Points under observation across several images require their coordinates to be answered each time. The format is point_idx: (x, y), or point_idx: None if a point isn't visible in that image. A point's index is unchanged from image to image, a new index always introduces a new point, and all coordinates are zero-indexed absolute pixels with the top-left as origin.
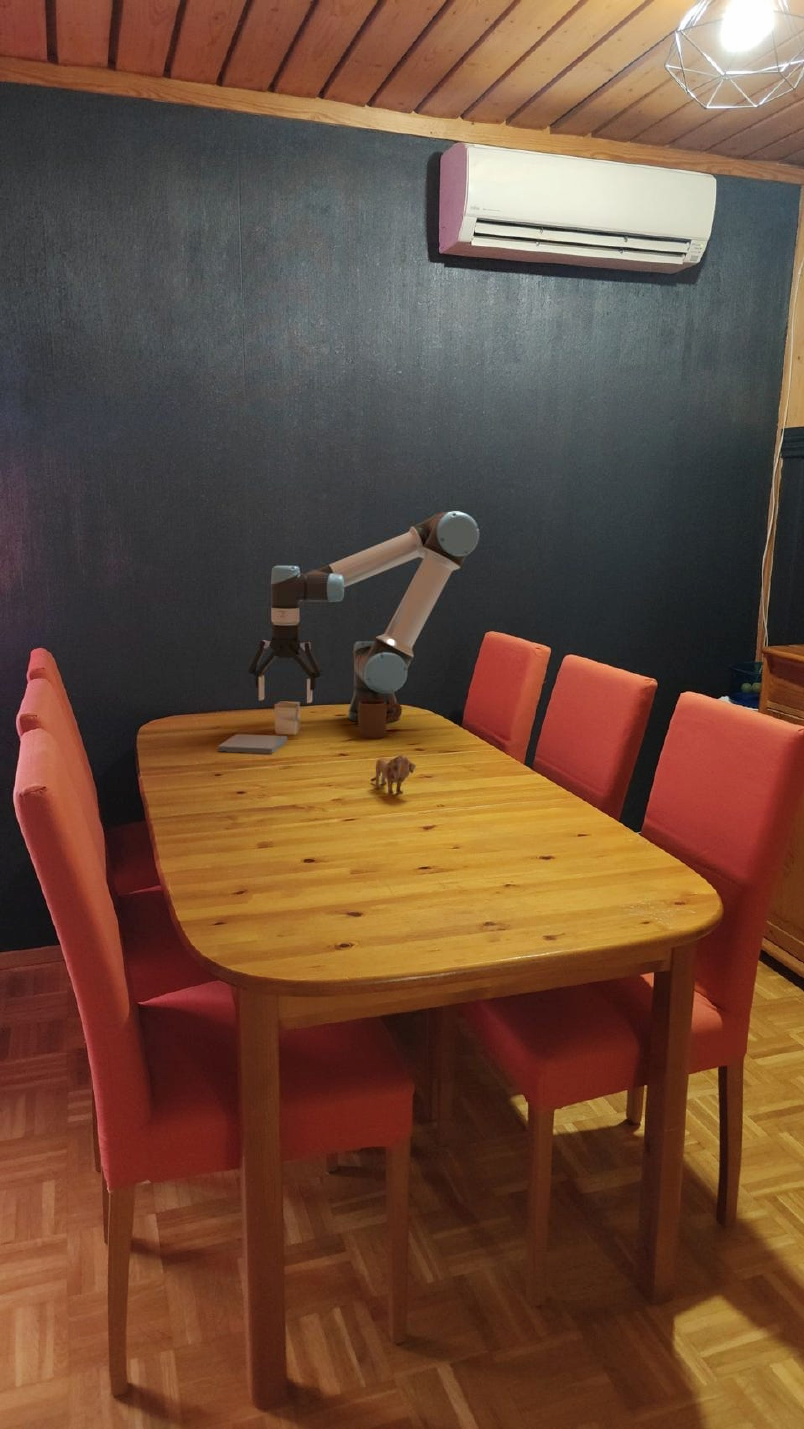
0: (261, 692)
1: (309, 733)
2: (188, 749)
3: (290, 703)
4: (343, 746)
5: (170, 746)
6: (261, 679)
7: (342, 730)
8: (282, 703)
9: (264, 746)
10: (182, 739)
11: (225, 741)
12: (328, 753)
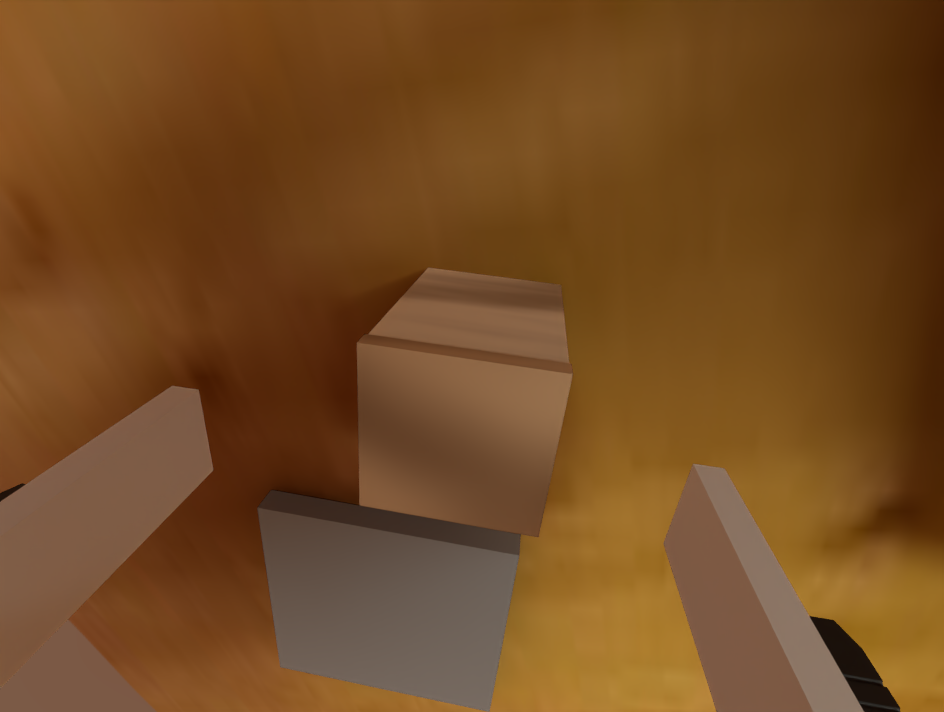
0: (157, 525)
1: (630, 371)
2: (176, 613)
3: (485, 446)
4: None
5: None
6: (8, 670)
7: (890, 276)
8: (408, 444)
9: (453, 687)
10: None
11: (273, 614)
12: None
